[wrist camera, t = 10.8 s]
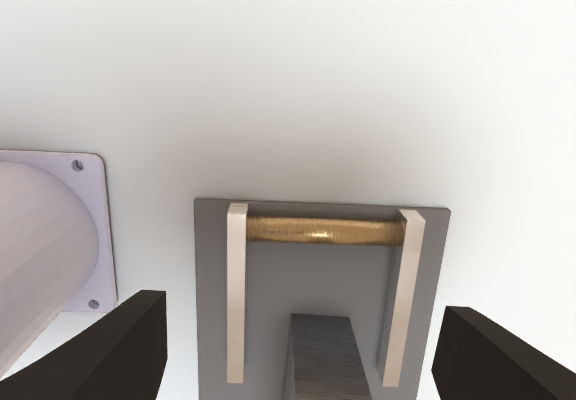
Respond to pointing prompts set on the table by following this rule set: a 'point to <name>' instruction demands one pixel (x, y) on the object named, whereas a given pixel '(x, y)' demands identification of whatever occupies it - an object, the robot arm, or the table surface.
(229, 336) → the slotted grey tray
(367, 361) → the grey slide base plate
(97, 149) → the table surface
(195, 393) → the table surface
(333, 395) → the dark gray rectangular chunk
